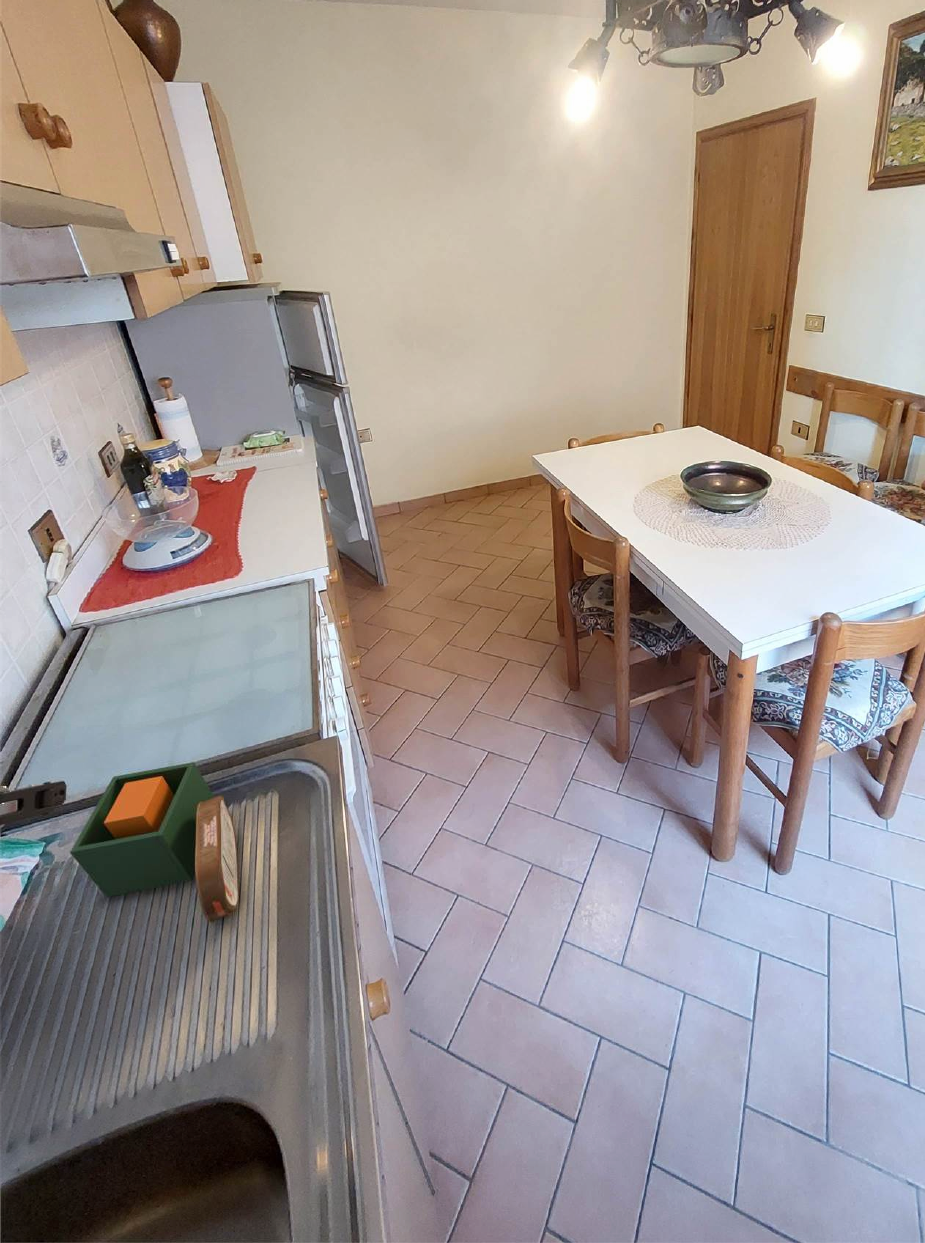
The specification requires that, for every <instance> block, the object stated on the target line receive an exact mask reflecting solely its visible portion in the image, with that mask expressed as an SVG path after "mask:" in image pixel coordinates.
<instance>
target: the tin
mask: <svg viewBox="0 0 925 1243" xmlns="http://www.w3.org/2000/svg"><path fill="white" fill-rule="evenodd" d="M224 798H225V797H224V796H222V795H219V796H214V798H212V799H210V800H207V801H204V802H200V803H199V804H198V806H197V813H196V849H195V874H194V875H195V882H196V888H197V894H198V899H199V902H200V906H201V909H202V912H203V915H204V917H205V919H206V920H207V921H208V922H209V924H215V922H216V921H218V920H220V919H222V918H225V917H227V916H229V915H231V914H232V913H234V912H235V911H236V910H237V908H238V905H239V870H238V869H239V866H238V847H237V846H238V845H237V837H236V831H235V830H236V829H235V825H234V820H233V817H232V815H231V813H230V811H229V809H228V806H227V804H226V802H225V799H224Z"/></svg>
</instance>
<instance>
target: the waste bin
mask: <svg viewBox="0 0 925 1243" xmlns="http://www.w3.org/2000/svg"><path fill="white" fill-rule="evenodd" d="M160 776H162V777H163V778H164V780H165V781H166V783H167V785H168V786H169V788H170V789H171V791H172V793H173V794H174V798H173V800H172V802H171V805H170V807H169V809H168V811H167V813H166V816H165V818H164V820H163V822H162V824H161V827H160V829H159V831H158V832H153V833H147V834H142V835H137V836H132V837H126V838H121V839H115V838H114V836H113V835H112V834H111V832H110V831H109V830H108V828H107V827H106V826H105V824H104V822H105V820H106V818H107V816H108V814H109V812H110V810H111V809H112V807H113V805H114V803H115V801H116V799H117V797H118V796H119V794H120V792H121V790H122V788H123V786H124V784H125V783H128V782H133V781H139V780H144V779H149V778H154V777H160ZM212 798H215V796H214V794H213V792H212V791H211V789H210V787H209V786H208V784H207V781H206V780H205V779H204V777H203V775H202V774H201V772H200V770H199V768H198V766H197V765H196V763H195V762H194V761H192V762H187V763H186V762H185V763H181V764H176V765H169V766H165V767H158V768H154V769H153V768H152V769H148V770H141V771H136V772H131V773H127V774H126V773H125V774H121V775H116V776H113V777H112V778H111V780H110V782H109V784H108V785H107V787H106V788H105V791H104V792H103V794H102V796H101V798H100V799H99V801H98V803H97V804H96V806H95V808H94V809H93V811H92V813H91V814H90V816H89V818H88V820H87V822H86V823H85V825H84V827H83V829H82V830H81V832H80V834H79V835H78V837H77V839H76V840H75V842H74V844H73V846H72V847H71V849H70V850H69V854H70V855H71V856H72V857H73V859H74V860H75V861H76V862H77V863H78V864H79V866H80V867H81V868H82V869H83V871H84V872H85V873H86V874H87V875H88V877H89V878H90V879H91V880H92V881H93V883H94V884H95V885H96V886H97V887H98V889H99V890H100V891H101V892H102V893H103V895H104V896H105V897H106V898H112V897H115V896H116V897H117V896H121V895H125V894H131V893H137V892H140V891H147V890H150V889H156V888H160V887H166V886H170V885H176V884H180V883H181V884H182V883H185V882H191V881H193V879H194V877H195V875H196V874H195V849H196V813H197V806H198V804H199V803H200V802H204V801H207V800H210V799H212Z"/></svg>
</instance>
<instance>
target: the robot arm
mask: <svg viewBox="0 0 925 1243" xmlns="http://www.w3.org/2000/svg"><path fill="white" fill-rule="evenodd" d="M65 801H67V784H66V782H65V781H64V780H60V781H54V782H51V781H45V782H43V784H37V785H36V783H34V784H28V785H27V786H25V787H21V788H16V789H11V790H10V789H9V787H8V786H6V785H5V786H0V829H1V828H3V827H4V826H5V825H7V824H10V823H14V822H18V821H21V820H25V819H29V818H32V817H36V816H40V815H41V816H45V815H46V816H47V815H49V814H50V813H51V812H55V808H56V807H57V808H58V807H60V806H63V805H64V803H65Z"/></svg>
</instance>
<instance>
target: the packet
mask: <svg viewBox="0 0 925 1243" xmlns="http://www.w3.org/2000/svg"><path fill="white" fill-rule="evenodd" d="M173 798H174V794H173V793H172V791H171V789H170V788H169V786H168V785H167V783H166V781H165V780H164V778H163V777H162V776H160V777H154V778H149V779H144V780H139V781H133V782H128V783H125V784H124V786H123V788H122V790H121V792H120V794H119V796H118V797H117V799H116V801H115V803H114V805H113V807H112V809H111V810H110V812H109V814H108V816H107V818H106V820H105V822H104V824H105V826H106V827H107V828H108V830H109V831H110V832H111V834H112V835H113V836H114V838H115V839H121V838H126V837H132V836H137V835H142V834H147V833H153V832H158V831H159V829H160V827H161V824H162V822H163V820H164V818H165V816H166V813H167V811H168V809H169V807H170V805H171V802H172V800H173Z"/></svg>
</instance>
